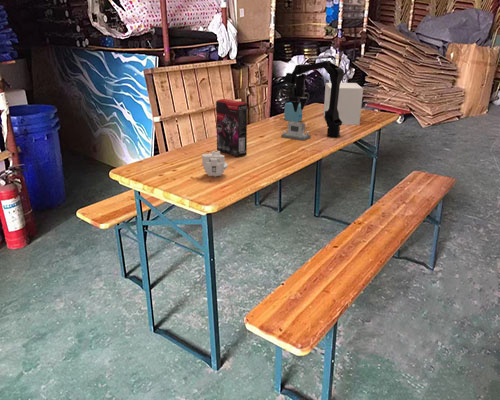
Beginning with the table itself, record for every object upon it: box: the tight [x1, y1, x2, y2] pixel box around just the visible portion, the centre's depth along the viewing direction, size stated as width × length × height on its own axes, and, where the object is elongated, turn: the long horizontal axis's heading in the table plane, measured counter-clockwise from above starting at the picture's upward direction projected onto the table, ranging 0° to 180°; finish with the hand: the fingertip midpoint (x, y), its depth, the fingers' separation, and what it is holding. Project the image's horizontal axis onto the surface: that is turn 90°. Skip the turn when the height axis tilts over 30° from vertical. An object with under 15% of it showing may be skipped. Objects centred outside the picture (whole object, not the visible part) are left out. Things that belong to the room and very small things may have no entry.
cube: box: [322, 82, 364, 126], centre depth 302 cm, size 25×21×24 cm
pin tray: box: [280, 129, 312, 142], centre depth 263 cm, size 15×9×4 cm, turn 58°
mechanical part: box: [201, 150, 229, 179], centre depth 197 cm, size 11×12×12 cm
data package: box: [283, 101, 303, 123], centre depth 303 cm, size 12×4×12 cm, turn 51°
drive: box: [287, 121, 306, 136], centre depth 262 cm, size 9×5×7 cm, turn 58°
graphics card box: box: [215, 98, 248, 158], centre depth 227 cm, size 17×7×27 cm, turn 46°
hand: (298, 110), depth 278 cm, fingers open, 9 cm apart
